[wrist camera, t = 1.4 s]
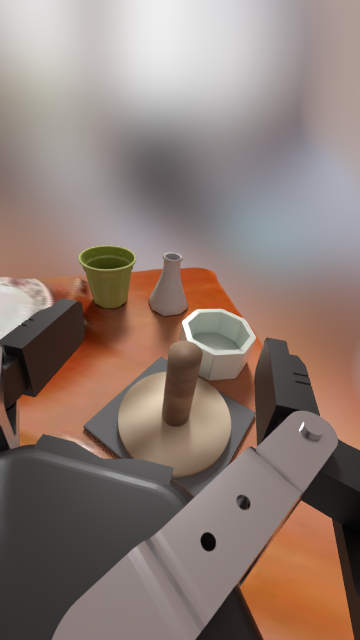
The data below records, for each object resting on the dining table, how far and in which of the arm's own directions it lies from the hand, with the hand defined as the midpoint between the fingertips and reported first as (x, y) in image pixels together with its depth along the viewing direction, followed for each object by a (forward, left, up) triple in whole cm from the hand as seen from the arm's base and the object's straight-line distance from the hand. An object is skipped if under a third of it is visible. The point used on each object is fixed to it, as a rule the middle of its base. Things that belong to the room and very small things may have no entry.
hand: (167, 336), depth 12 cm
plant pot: (-28, +22, -22) cm, 42 cm away
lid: (-4, +9, -21) cm, 23 cm away
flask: (-19, +28, -22) cm, 40 cm away
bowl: (-6, +22, -22) cm, 31 cm away
